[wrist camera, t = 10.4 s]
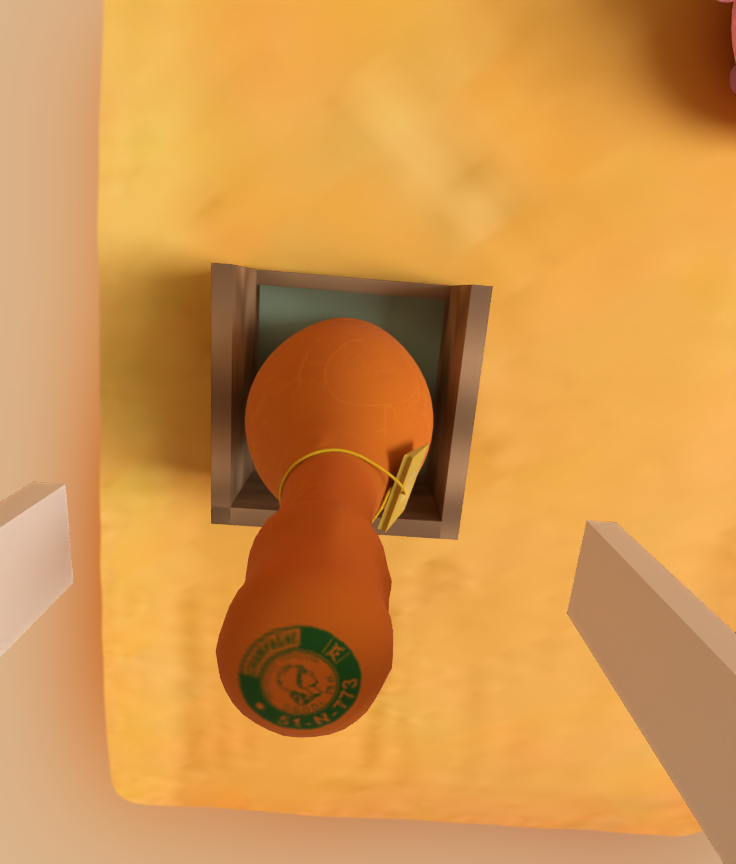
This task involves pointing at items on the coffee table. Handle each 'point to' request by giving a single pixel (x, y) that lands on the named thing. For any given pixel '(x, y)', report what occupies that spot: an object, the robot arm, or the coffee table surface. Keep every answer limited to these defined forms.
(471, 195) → the coffee table surface
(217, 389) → the wooden box
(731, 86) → the teapot
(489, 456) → the coffee table surface
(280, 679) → the wine bottle
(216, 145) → the coffee table surface
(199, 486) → the coffee table surface
